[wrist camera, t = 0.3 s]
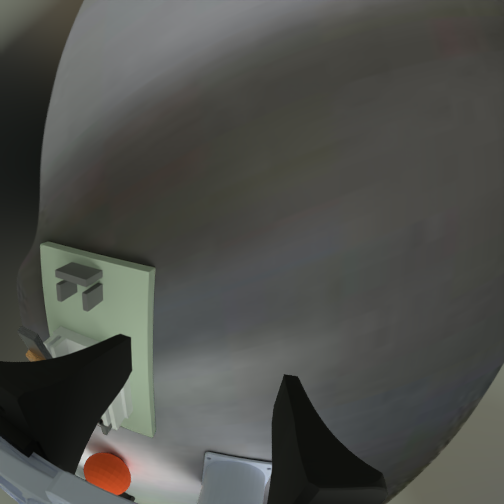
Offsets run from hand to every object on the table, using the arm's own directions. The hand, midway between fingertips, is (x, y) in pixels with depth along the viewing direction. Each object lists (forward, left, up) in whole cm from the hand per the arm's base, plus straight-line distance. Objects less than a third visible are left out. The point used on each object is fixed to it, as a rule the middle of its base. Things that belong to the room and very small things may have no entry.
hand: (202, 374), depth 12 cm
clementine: (-31, +14, -10) cm, 36 cm away
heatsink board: (-9, +13, -10) cm, 19 cm away
